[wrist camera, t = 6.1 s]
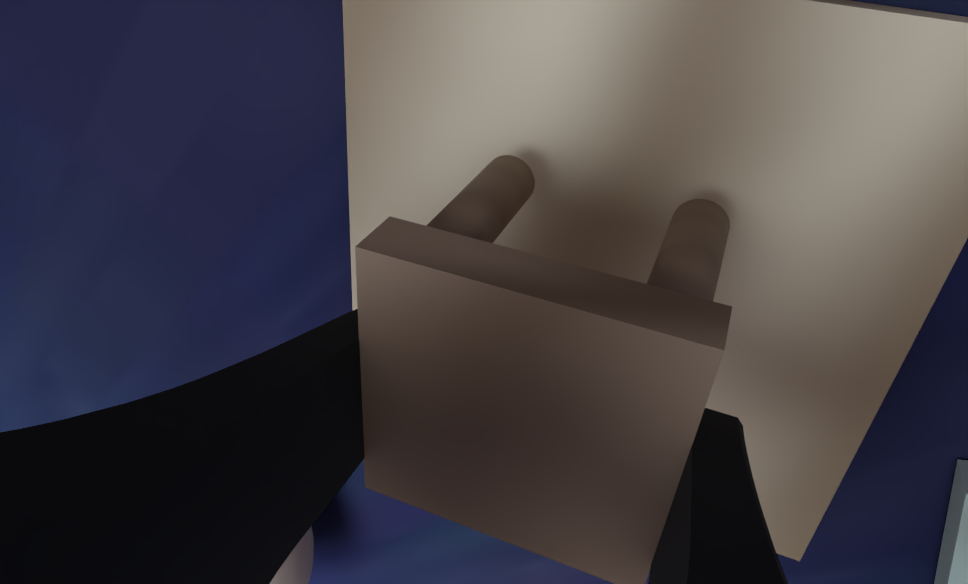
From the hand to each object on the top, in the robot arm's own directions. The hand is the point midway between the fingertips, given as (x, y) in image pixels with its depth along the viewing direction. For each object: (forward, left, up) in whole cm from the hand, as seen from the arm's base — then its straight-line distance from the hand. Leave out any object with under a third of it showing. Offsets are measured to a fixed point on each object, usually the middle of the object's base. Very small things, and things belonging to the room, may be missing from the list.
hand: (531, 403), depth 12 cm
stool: (0, -1, -3) cm, 3 cm away
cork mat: (0, 0, -5) cm, 5 cm away
